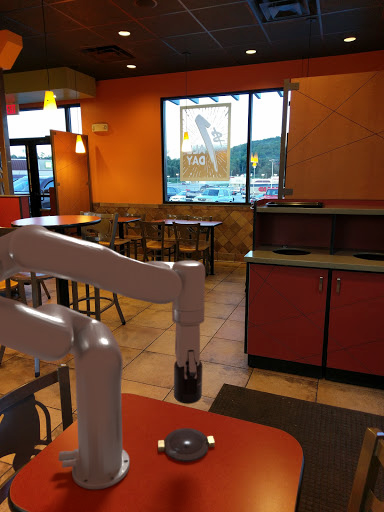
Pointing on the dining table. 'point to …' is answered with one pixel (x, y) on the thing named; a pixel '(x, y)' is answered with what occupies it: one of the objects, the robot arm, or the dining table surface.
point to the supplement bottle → (179, 384)
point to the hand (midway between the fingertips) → (187, 384)
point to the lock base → (186, 444)
